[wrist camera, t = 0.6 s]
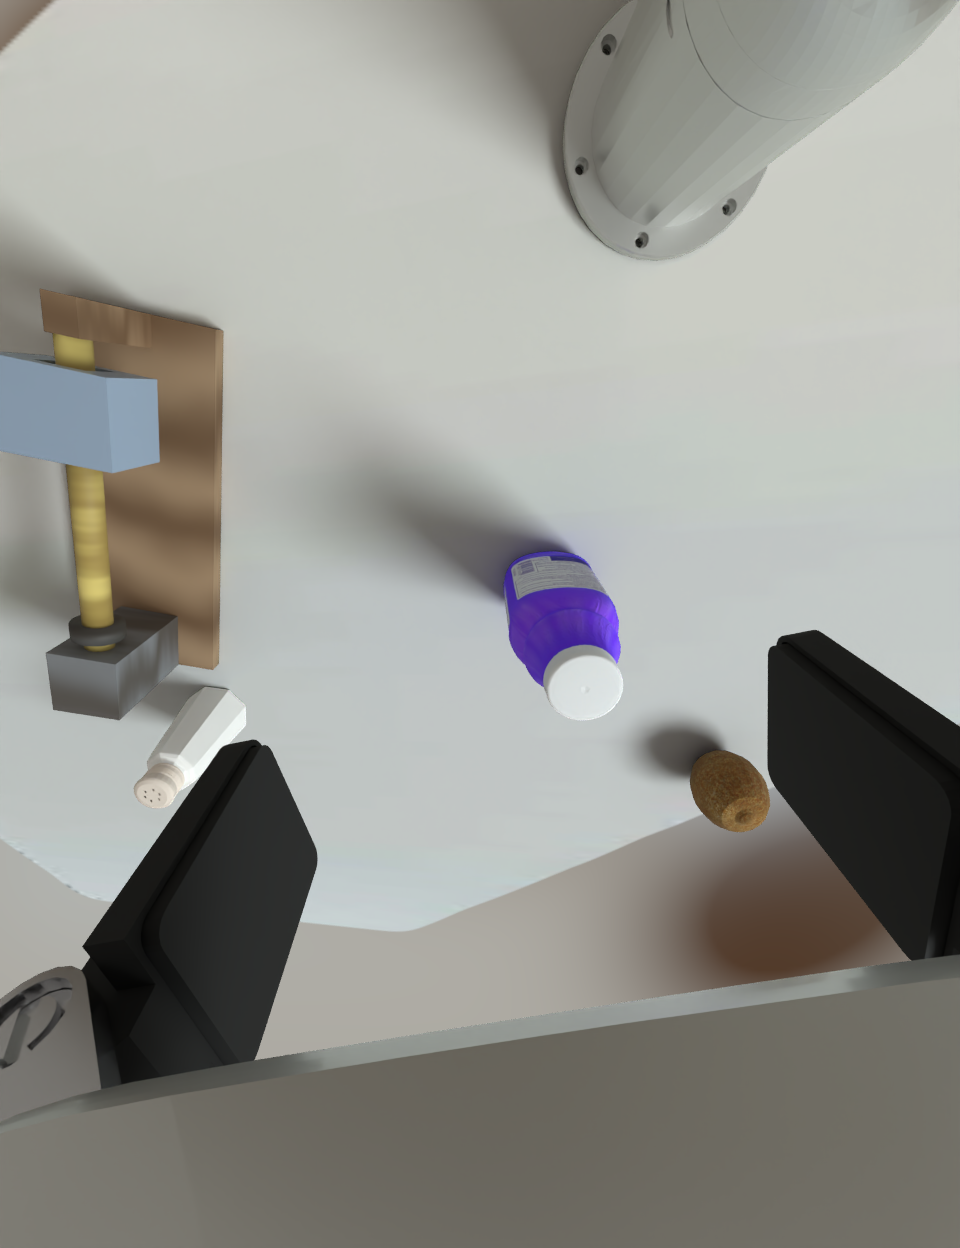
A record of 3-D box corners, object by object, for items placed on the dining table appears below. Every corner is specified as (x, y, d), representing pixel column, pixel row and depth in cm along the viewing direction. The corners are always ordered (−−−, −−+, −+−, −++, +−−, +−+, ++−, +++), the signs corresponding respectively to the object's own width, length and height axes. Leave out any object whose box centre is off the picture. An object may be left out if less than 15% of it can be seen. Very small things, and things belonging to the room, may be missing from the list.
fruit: (741, 782, 53) (784, 845, 45) (677, 790, 53) (710, 854, 46) (744, 730, 50) (790, 788, 43) (677, 739, 50) (712, 798, 43)
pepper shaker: (234, 679, 47) (170, 758, 37) (258, 729, 49) (203, 816, 39) (177, 691, 47) (98, 773, 37) (203, 740, 50) (135, 830, 39)
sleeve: (46, 355, 32) (-24, 349, 27) (157, 379, 33) (106, 377, 28) (55, 441, 34) (-9, 449, 29) (159, 462, 35) (112, 473, 30)
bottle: (501, 614, 45) (519, 738, 29) (499, 549, 43) (517, 645, 27) (588, 610, 45) (653, 731, 29) (590, 544, 43) (661, 637, 27)
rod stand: (68, 295, 35) (-65, 264, 26) (223, 331, 36) (145, 312, 27) (98, 642, 45) (10, 703, 37) (218, 663, 46) (160, 726, 38)
